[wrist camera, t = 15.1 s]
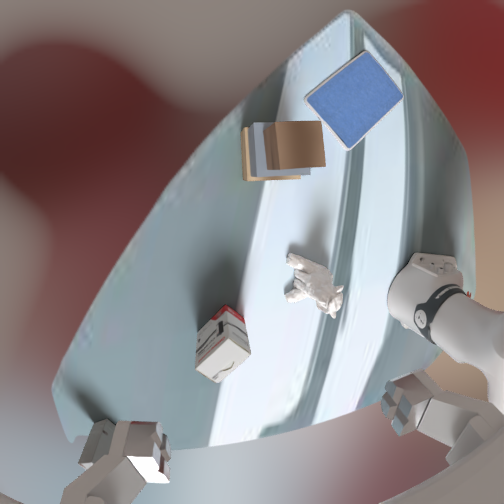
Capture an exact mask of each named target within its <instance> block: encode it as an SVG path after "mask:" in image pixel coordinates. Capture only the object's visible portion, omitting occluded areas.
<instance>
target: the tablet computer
mask: <svg viewBox="0 0 504 504" xmlns="http://www.w3.org/2000/svg"><path fill="white" fill-rule="evenodd" d="M403 99H404V96H403V94H402V92H401V91H400V90H399V88H398V87H397V86H396V84H395V83H394V82H393V80H392V79H391V78H390V77H389V75H388V74H387V73H386V72H385V70H384V69H383V68H382V67H381V65H380V64H379V63H378V62H377V61H376V60H375V58H374V57H373V56H372V55H371V54H370V53H369V52H368V51H363V52H362V53H361V54H359V55H358V56H356V57H355V58H354V59H352V60H351V61H350V62H348V63H347V64H346V65H344V66H343V67H342V68H341V69H339V70H338V71H337V72H335V73H334V74H333V75H332V76H330V77H329V78H328V79H326V80H325V81H323V82H322V83H321V84H320V85H319V86H317V87H316V88H315V89H314V90H313V91H312V92H310V93H309V94H308V95H307V96H306V97H305V98H304V103H305V104H306V105H307V106H308V107H309V108H310V109H311V110H312V112H313V113H314V114H315V115H316V116H317V117H318V118H319V119H320V121H321V122H322V123H323V124H324V125H325V126H326V128H327V129H328V130H329V131H330V132H331V133H332V135H333V136H334V137H335V138H336V139H337V141H338V142H339V143H340V144H341V145H342V147H343V148H344V149H345V150H347V151H349V150H351V149H352V148H353V147H354V146H355V145H356V144H357V143H358V142H359V141H361V140H362V139H363V138H364V137H365V136H366V135H367V134H368V133H369V132H370V131H371V130H372V129H373V128H374V127H375V126H376V125H377V124H378V123H379V122H380V121H381V120H382V119H383V118H384V117H385V116H387V115H388V114H389V113H390V112H391V111H392V110H393V109H394V108H395V107H396V106H397V105H398V104H399V103H400V102H401V101H402V100H403Z"/></svg>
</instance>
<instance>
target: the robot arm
mask: <svg viewBox="0 0 504 504" xmlns="http://www.w3.org/2000/svg"><path fill="white" fill-rule="evenodd" d="M420 258H421V259H420ZM470 297H471V293H470V295H469V291H468V292H467V295H466V294H465V292H464V291H463V275H462V273H461V272H460V271H459V270H457V263H456V259H455V258H454V257H452V256H445V255H436V254H427V253H418V252H417V253H414V254H413V256H412V257H411V259H410V261H409V263H408V264H407V265H406V267H405V268H403V269H402V270H401V271H400V273H399V274H398V275H397V276H396V278H395V279H394V281H393V283H392V285H391V287H390V290H389V293H388V300H387V305H388V310H389V312H390V314H391V315H392V316H393V317H394V318H395V319H397V320H399V321H400V323H401V325H402V326H403V327H404V328H406V329H408V328H410V329H412V330H413V331H415V332H416V333H418V334H419V335H421V336H422V337H425V338H426V339H427V340H428V341H429V342H431V343H433V344H435V345H438V346H439V347H440V348H441V349H443V350H444V351H445V352H446V353H447V354H448V355H449V356H451V357H452V358H453V359H454V360H455V361H456V362H458V363H469V364H471V365H473V366H475V367H477V368H478V369H480V370H481V371H482V372H483V373H484V375H485V376H486V378H487V380H488V400H489V402H486V401H482V400H478V399H475V398H471V397H468V396H464V395H461V394H457V393H454V392H451V391H448V390H446V391H443V390H442V389H441V388H440V387H439V386H438V385H437V384H436V383H435V382H434V381H433V380H432V379H431V377H429V375H428V374H427V373H426V372H425V371H424V370H422V369H418V370H415V371H413V372H410V373H407V374H405V375H402V376H400V377H397V378H394V379H392V380H389V381H388V382H387V383H386V386H385V389H386V391H387V392H386V393H385V394H384V395H383V396H382V400H381V407H382V411H383V413H384V415H385V417H386V418H388V419H390V420H392V427H393V428H394V430H395V431H396V433H397V434H398V436H402V435H404V434H406V433H409V432H411V431H413V430H416V429H417V430H418V431H420V432H422V433H424V434H426V435H428V436H430V437H432V438H434V439H436V440H438V441H440V442H442V443H444V444H446V445H448V446H450V447H452V448H451V450H450V451H449V453H448V454H447V455H446V460H447V462H448V463H449V464H450V466H449V467H448V468H446V469H445V470H443V471H441V472H440V473H438V474H437V475H435V476H433V477H431V478H430V479H428V480H426V481H424V482H423V483H421V484H419V485H417V486H415V487H413V488H411V489H409V490H408V491H405V492H403V493H401V494H399V495H397V496H395V497H393V498H390V499H388V500H386V501H384V502H381V503H379V504H504V312H501V311H495V310H492V309H489V308H487V307H485V306H483V305H481V304H480V303H478V302H476V301H474V300H473V299H471V298H470ZM170 459H171V447H170V442H169V439H168V437H167V435H165V434H164V433H163V427H162V425H161V423H160V422H140V421H118V422H117V424H116V427H115V431H114V434H113V438H112V442H111V446H110V450H109V454H108V455H104V456H102V457H101V458H100V459H99V460H98V461H97V462H96V463H94V464H93V465H92V466H91V467H90V468H88V469H87V470H86V471H85V472H84V473H83V474H81V476H79V477H78V478H77V479H75V480H74V481H73V482H72V483H70V484H69V485H68V486H67V487H66V488H65V489H64V491H63V495H62V499H61V503H60V504H131V503H132V502H133V500H134V499H135V498H136V497H137V495H138V494H139V493H140V492H141V490H142V489H143V488H144V486H145V485H146V482H153V483H169V481H170V480H169V479H170V467H169V465H168V464H167V462H168V461H169V460H170ZM0 504H23V503H21V502H18V501H16V500H14V499H12V498H10V497H8V496H6V495H4V494H2V493H0Z"/></svg>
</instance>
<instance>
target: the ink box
mask: <svg viewBox="0 0 504 504" xmlns="http://www.w3.org/2000/svg"><path fill="white" fill-rule="evenodd" d="M250 355H251V350H250V345H249V340H248V336H247V330H246V325H245V321H244V318H243V317H242V316H241V315H239V314H238V313H237V312H236V311H234V310H233V309H232V308H230V307H229V306H227V305H224V306H223V307H222V308H221V309H220V310H219V311H218V312H217V313H216V314H215V315H214V316H213V317H212V318H211V319H210V320H209V321H208V322H207V323H206V324H205V325H204V326H203V327H202V328H201V330H199V332H198V333H197V347H196V361H195V370H197V371H198V372H199V373H201V374H202V375H204V376H205V377H207V378H208V379H210V380H211V381H213V382H215V383H218V382H221V381H222V380H223V379H224V378H226V377H227V376H228V375H229V374H230V373H231V372H232V371H234V370H235V369H236V368H237V367H238V366H239V365H240V364H242V363H243V362H244V361H245V360H246V359H247V358H248V357H249V356H250Z"/></svg>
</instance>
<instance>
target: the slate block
mask: <svg viewBox="0 0 504 504" xmlns="http://www.w3.org/2000/svg"><path fill="white" fill-rule="evenodd" d="M273 123H274V122H257V123H253V124H252V125H251V126H250V127H249V128H248V144H249V159H250V174H251V177H269V176H290V175H310V168H296V169H284V170H267V164H266V154H265V145H264V136H263V131H264V130H265V129H266V128H268V127H269V126H270V125H272V124H273Z"/></svg>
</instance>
